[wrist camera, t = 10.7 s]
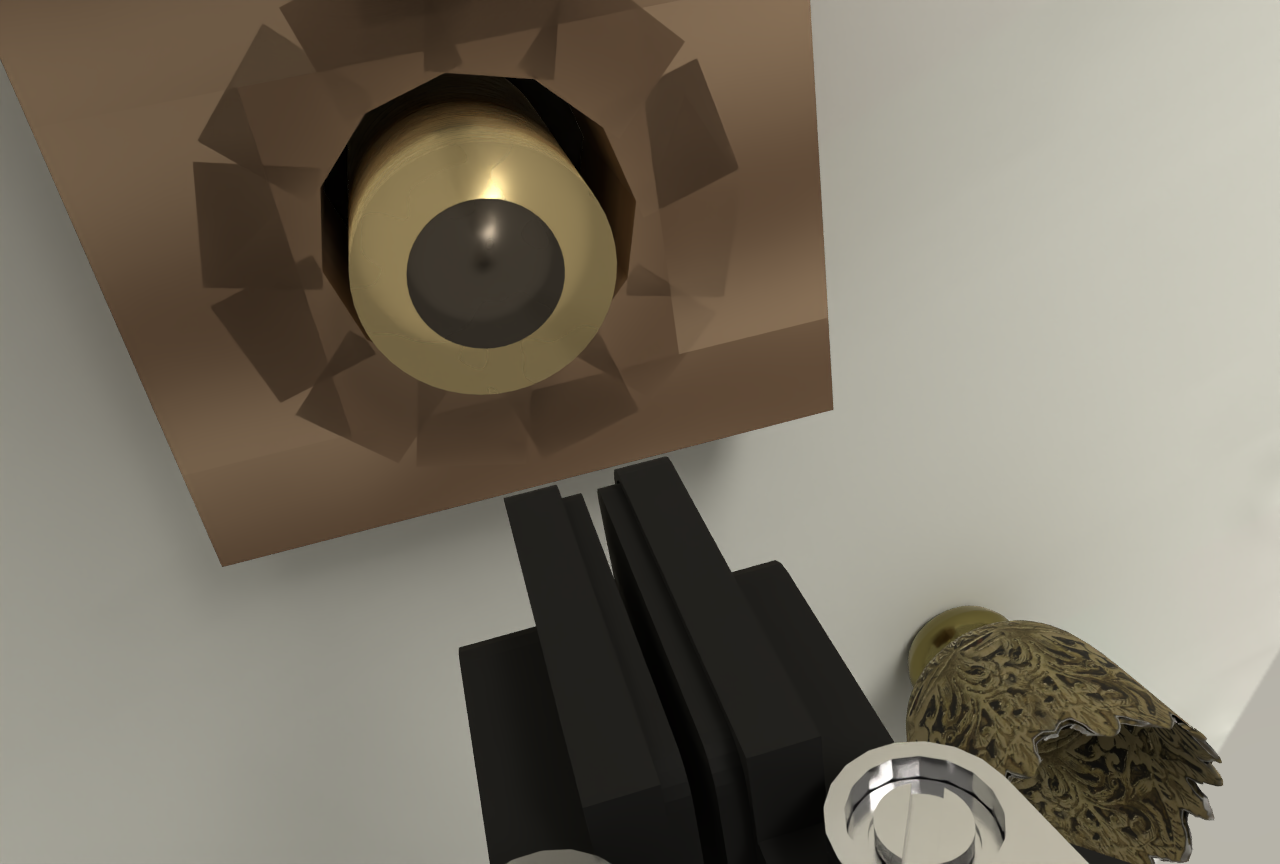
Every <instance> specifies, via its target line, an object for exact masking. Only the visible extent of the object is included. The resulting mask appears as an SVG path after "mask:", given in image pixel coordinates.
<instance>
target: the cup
mask: <svg viewBox="0 0 1280 864" xmlns="http://www.w3.org/2000/svg"><path fill="white" fill-rule="evenodd" d="M908 670H909V677H910V681H911V684H912V686H913V691H912V693H911V696H910V700H909V703H908V710H907V717H906V734H907V742H920V741H926V742H931V743H937V744H942V745H947V746H953V747H956V748H958V749H961V750H963V751H965V752H967V753H970V754H972V755H974V756H976V757H979V758H981V759H983V760H984V761H985V762H987V763H988V764H989V765H990V766H992V767H993V768H994V769H996V770H997V771H998V772H999V773H1001V774H1002V775H1003V776H1004V777H1006V778H1007V779H1008V780H1009V781H1010V783H1011V784H1012V785H1013V786H1014V787H1015V788H1016V789H1017V790H1018V791H1019V792H1020V793H1021V794H1022V795H1023V796H1024V797H1025V798H1026V799H1027V800H1028V801H1029V802H1030V803H1031V804H1032V805H1033V806H1034V807H1035V808H1036V809H1037V810H1038V812H1039V813H1040V814H1041V815H1042V816H1043V817H1044V818H1045V819H1046V820H1047V821H1048V822H1049V823H1050V824H1051V825H1052V826H1053V827H1054V828H1055V829H1056V830H1057V831H1058V832H1059V833H1060V834H1061V835H1062V836H1063V837H1064V838H1065V839H1066V841H1067V842H1068V843H1071V844H1074V845H1077V846H1080V847H1083V848H1086V849H1089V850H1092V851H1095V852H1098V853H1101V854H1105V855H1108V856H1111V857H1114V858H1117V859H1120V860H1123V861H1126V862H1129V863H1132V864H1155V862H1154V859H1153V858H1160V859H1163V860H1161V861H1170V862H1177V863H1183V862H1187V861H1189V858H1190V855H1191V853H1192V836H1191V832H1190V829H1189V826H1188V823H1187V820H1188V814H1189V813H1190V814H1192V815H1194V816H1195V817H1200V818H1202V819H1204V820H1214V815H1213V812H1212V809H1211V807H1210V805H1209V801H1208V798H1207V796H1206V795H1205V794H1204V793H1202V791H1201V790H1200V789H1199V787H1198V785H1197V784H1196V782H1197V783H1199V784H1203V782H1204V783H1207V784H1210V785H1214V786H1222V785H1223V780H1222V778H1221V776H1220V774H1219V773H1218V772H1217V770H1216V769H1215V768H1214V766H1213V765H1212V762H1213V761H1216V762H1218V763H1222V761H1221V759H1220V757H1219V756H1218V754H1217V753H1216V752H1215V751H1214V750H1213V748H1212V747H1211V746H1210V745H1209V744H1208V743H1207V742H1206V740H1207V738H1206V737H1205V736H1204V735H1203V734H1202V733H1201V732H1199V731H1198V730H1196V729H1195V728H1194V729H1193V727H1192V726H1191V727H1192V728H1191V727H1190V726H1188V725H1189V724H1188V723H1187V722H1185V721H1184V720H1183V719H1182V718H1180V717H1179V716H1178V715H1177V714H1176V713H1174V712H1173V711H1172V710H1171V709H1170V708H1168V707H1167V706H1166V705H1165V704H1164V703H1162V702H1161V701H1160V700H1159V699H1158V698H1156V697H1155V696H1154V695H1153V694H1152V693H1150V692H1149V691H1148V690H1147V689H1146V688H1144V687H1143V686H1142V685H1141V684H1140V683H1138V682H1137V681H1136V680H1135V679H1133V678H1132V677H1131V676H1130V675H1129V674H1127V673H1126V672H1125V671H1124V670H1122V669H1121V668H1120V667H1119V666H1118V665H1116V664H1115V663H1114V662H1112V661H1111V660H1110V659H1109V658H1107V657H1106V656H1105V655H1103V654H1102V653H1101V652H1099V651H1098V650H1096V649H1095V648H1093V647H1092V646H1091V645H1089V644H1088V643H1086V642H1084V641H1083V640H1081V639H1079V638H1077V637H1076V636H1074V635H1072V634H1070V633H1069V632H1066V631H1064V630H1061V629H1059V628H1056V627H1053V626H1051V625H1047V624H1043V623H1038V622H1032V621H1024V620H1015V621H1009V620H1008V619H1006V618H1005V617H1004V616H1002V615H1001V614H999V613H997V612H995V611H992V610H990V609H987V608H984V607H980V606H961V607H956V608H952V609H950V610H947V611H945V612H943V613H941V614H939V615H937V616H936V617H934V618H933V619H932V620H930V621H929V622H928V623H927V624H926V625H925V626H924V627H923V628H922V629H921V630H920V631H919V632H918V634H917V635H916V637H915V638H914V640H913V642H912V644H911V647H910V650H909V654H908ZM1186 723H1187V724H1188V725H1187V724H1186Z"/></svg>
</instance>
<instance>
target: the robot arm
mask: <svg viewBox="0 0 1280 864" xmlns="http://www.w3.org/2000/svg"><path fill="white" fill-rule="evenodd" d="M614 479H615V485H611V486H607V487H603V488H599V489H598V491H597V492H598V499H599V505H600V510H601V515H602V520H603V525H604V530H605V535H606V540H607V545H608V550H609V555H610V560H611V565H612V570H613V575H614V578H613V575H612V572H611V570H610V567H609V564H608V562H607V559H606V556H605V554H604V551H603V549H602V546H601V543H600V541H599V538H598V535H597V533H596V530H595V527H594V525H593V522H592V520H591V517H590V514H589V512H588V509H587V506H586V504H585V501H584V498H583V496H582V494H581V493H580V494H576V495H573V496H569V497H565V498H561V495H560V492H559V489H558V487H557V485H554V486H550V487H546V488H542V489H538V490H534V491H530V492H527V493H523V494H519V495H515V496H511V497H507V498H504V502H505V506H506V510H507V514H508V517H509V521H510V525H511V529H512V533H513V537H514V541H515V545H516V549H517V553H518V557H519V561H520V565H521V569H522V573H523V577H524V581H525V584H526V588H527V592H528V596H529V600H530V604H531V608H532V612H533V616H534V620H535V624H536V627H532V628H528V629H525V630H521V631H518V632H514V633H510V634H507V635H503V636H500V637H496V638H492V639H489V640H485V641H481V642H478V643H474V644H471V645H467V646H463V647H460V648H459V659H460V667H461V673H462V680H463V687H464V694H465V700H466V707H467V714H468V720H469V727H470V734H471V740H472V747H473V754H474V760H475V767H476V774H477V780H478V787H479V794H480V800H481V807H482V814H483V820H484V827H485V834H486V841H487V847H488V854H489V861H490V864H1132V863H1129V862H1126V861H1123V860H1120V859H1117V858H1114V857H1111V856H1108V855H1105V854H1101V853H1098V852H1095V851H1092V850H1089V849H1086V848H1083V847H1080V846H1077V845H1074V844H1071V843H1068V842H1067V841H1066V839H1065V838H1064V837H1063V836H1062V835H1061V834H1060V833H1059V832H1058V831H1057V830H1056V829H1055V828H1054V827H1053V826H1052V825H1051V824H1050V823H1049V822H1048V821H1047V820H1046V819H1045V818H1044V817H1043V816H1042V815H1041V814H1040V813H1039V812H1038V810H1037V809H1036V808H1035V807H1034V806H1033V805H1032V804H1031V803H1030V802H1029V801H1028V800H1027V799H1026V798H1025V797H1024V796H1023V795H1022V794H1021V793H1020V792H1019V791H1018V790H1017V789H1016V788H1015V787H1014V786H1013V785H1012V784H1011V783H1010V781H1009V780H1008V779H1007V778H1006V777H1004V776H1003V775H1002V774H1001V773H999V772H998V771H997V770H996V769H994V768H993V767H992V766H990V765H989V764H988V763H987V762H985V761H984V760H983V759H981V758H979V757H976V756H974V755H972V754H970V753H967V752H965V751H963V750H961V749H958V748H956V747H953V746H947V745H942V744H937V743H931V742H926V741H920V742H898V743H894V741H893V740H892V738H891V736H890V735H889V733H888V732H887V730H886V728H885V727H884V725H883V724H882V722H881V720H880V719H879V717H878V716H877V714H876V712H875V711H874V709H873V708H872V706H871V704H870V703H869V701H868V700H867V698H866V696H865V695H864V693H863V692H862V690H861V688H860V687H859V685H858V684H857V682H856V680H855V679H854V677H853V676H852V674H851V672H850V671H849V669H848V668H847V666H846V664H845V663H844V661H843V660H842V658H841V656H840V655H839V653H838V652H837V650H836V648H835V647H834V645H833V644H832V642H831V640H830V639H829V637H828V636H827V634H826V632H825V631H824V629H823V628H822V626H821V624H820V623H819V621H818V620H817V618H816V616H815V615H814V613H813V612H812V610H811V608H810V607H809V605H808V604H807V602H806V600H805V599H804V597H803V596H802V594H801V592H800V591H799V589H798V588H797V586H796V584H795V583H794V581H793V580H792V578H791V576H790V575H789V573H788V572H787V570H786V569H785V568H784V567H783V565H782V564H781V563H780V562H778V561H776V560H774V561H771V562H767V563H764V564H760V565H756V566H753V567H749V568H746V569H742V570H738V571H735V572H731V570H730V569H729V567H728V565H727V563H726V561H725V559H724V558H723V556H722V554H721V552H720V550H719V548H718V547H717V545H716V543H715V541H714V539H713V538H712V536H711V534H710V532H709V530H708V528H707V527H706V525H705V523H704V521H703V519H702V517H701V516H700V514H699V512H698V510H697V508H696V506H695V505H694V503H693V501H692V499H691V497H690V495H689V494H688V492H687V490H686V488H685V486H684V484H683V483H682V481H681V479H680V477H679V475H678V473H677V472H676V470H675V468H674V466H673V464H672V462H671V461H670V459H669V458H668V457H662V458H658V459H654V460H650V461H646V462H643V463H639V464H635V465H631V466H627V467H623V468H619V469H615V470H614Z"/></svg>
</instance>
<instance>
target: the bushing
mask: <svg viewBox="0 0 1280 864" xmlns="http://www.w3.org/2000/svg"><path fill="white" fill-rule="evenodd" d="M347 172H348V249H349V280H350V290H351V294H352V299H353V303H354V307H355V309H356V312H357V314H358V317H359V319H360V322H361V324H362V325H363V327H364V329H365V331H366V333H367V334H368V336H369V337H370V339H371V340H372V341H373V343H374V344H375V345H376V347H377V348H378V349H379V350H380V351H381V352H382V353H383V354H384V355H385V356H386V357H387V358H388V359H389V360H390V361H391V362H392V363H393V364H394V365H396V366H397V367H398V368H400V369H401V370H402V371H404V372H405V373H407V374H409V375H410V376H412V377H414V378H415V379H417V380H419V381H421V382H424V383H426V384H428V385H431V386H433V387H436V388H440V389H443V390H447V391H451V392H457V393H463V394H477V395H485V394H499V393H504V392H510V391H515V390H518V389H521V388H525V387H528V386H531V385H533V384H535V383H538V382H540V381H542V380H544V379H546V378H548V377H550V376H551V375H553V374H555V373H556V372H558V371H560V370H561V369H562V368H564V367H565V366H566V365H568V364H569V363H570V362H572V361H573V360H574V359H575V358H576V357H577V356H578V355H579V354H580V353H581V352H582V351H583V350H584V349H585V348H586V346H587V345H588V344H589V343H590V341H591V340H592V339H593V338H594V336H595V335H596V333H597V331H598V330H599V328H600V326H601V325H602V323H603V321H604V319H605V317H606V314H607V312H608V310H609V307H610V304H611V301H612V297H613V294H614V289H615V283H616V273H617V258H616V248H615V243H614V238H613V234H612V230H611V227H610V225H609V222H608V220H607V217H606V215H605V213H604V211H603V209H602V208H601V206H600V204H599V202H598V200H597V199H596V197H595V196H594V194H593V193H592V192H591V190H590V189H589V187H588V186H587V184H586V183H585V181H584V180H583V178H582V177H581V176H580V174H579V173H578V171H577V170H576V168H575V167H574V165H573V164H572V162H571V161H570V160H569V158H568V157H567V155H566V154H565V152H564V151H563V149H562V148H561V146H560V145H559V144H558V142H557V141H556V139H555V138H554V136H553V135H552V133H551V132H550V130H549V129H548V128H547V126H546V125H545V123H544V122H543V120H542V119H541V117H540V116H539V114H538V113H537V112H536V110H535V109H534V107H533V106H532V104H531V103H530V102H529V100H528V99H527V98H526V97H525V95H524V94H523V93H522V92H521V91H520V90H519V89H518V88H517V87H516V86H515V85H513V84H512V83H511V82H510V81H508V80H507V79H506V78H504V77H499V76H485V75H471V74H457V73H443V74H441V75H439V76H437V77H435V78H433V79H432V80H430V81H428V82H426V83H424V84H422V85H420V86H418V87H416V88H414V89H412V90H410V91H408V92H406V93H404V94H402V95H400V96H398V97H396V98H394V99H392V100H390V101H388V102H386V103H384V104H383V105H381V106H379V107H377V108H375V109H373V110H371V111H369V112H367V113H365V114H364V116H363V118H362V119H361V121H360V123H359V124H358V126H357V128H356V129H355V131H354V133H353V134H352V136H351V137H350V139H349V143H348V155H347Z"/></svg>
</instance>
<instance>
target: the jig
mask: <svg viewBox="0 0 1280 864" xmlns="http://www.w3.org/2000/svg"><path fill="white" fill-rule="evenodd" d="M0 59H1V61H2V64H3V66H4V68H5V70H6V73H7V75H8V77H9V80H10V82H11V84H12V86H13V89H14V91H15V93H16V96H17V98H18V100H19V102H20V105H21V107H22V109H23V112H24V114H25V116H26V119H27V121H28V123H29V125H30V128H31V130H32V132H33V135H34V137H35V139H36V141H37V144H38V146H39V148H40V151H41V153H42V155H43V157H44V160H45V162H46V164H47V167H48V169H49V171H50V174H51V176H52V178H53V180H54V183H55V185H56V187H57V190H58V192H59V194H60V196H61V199H62V201H63V203H64V206H65V208H66V210H67V212H68V215H69V217H70V219H71V222H72V224H73V226H74V229H75V231H76V233H77V235H78V238H79V240H80V242H81V245H82V247H83V249H84V251H85V254H86V256H87V258H88V261H89V263H90V265H91V267H92V270H93V272H94V274H95V277H96V279H97V281H98V283H99V286H100V288H101V290H102V293H103V295H104V297H105V300H106V302H107V304H108V306H109V309H110V311H111V313H112V316H113V318H114V320H115V322H116V325H117V327H118V329H119V332H120V334H121V336H122V338H123V341H124V343H125V345H126V348H127V350H128V352H129V355H130V357H131V359H132V361H133V364H134V366H135V368H136V371H137V373H138V375H139V377H140V380H141V382H142V384H143V387H144V389H145V391H146V393H147V396H148V398H149V400H150V403H151V405H152V407H153V410H154V412H155V414H156V416H157V419H158V421H159V423H160V426H161V428H162V430H163V432H164V435H165V437H166V439H167V442H168V444H169V446H170V448H171V451H172V453H173V455H174V458H175V460H176V462H177V464H178V467H179V469H180V471H181V474H182V476H183V478H184V481H185V483H186V485H187V487H188V490H189V492H190V494H191V497H192V499H193V501H194V503H195V506H196V508H197V510H198V513H199V515H200V517H201V519H202V522H203V524H204V526H205V529H206V531H207V533H208V536H209V538H210V540H211V542H212V545H213V547H214V549H215V552H216V554H217V556H218V558H219V561H220V563H221V565H222V567H224V566H228V565H232V564H236V563H240V562H244V561H248V560H252V559H255V558H259V557H263V556H267V555H271V554H275V553H279V552H283V551H286V550H290V549H294V548H298V547H302V546H306V545H310V544H314V543H317V542H321V541H325V540H329V539H333V538H337V537H341V536H345V535H349V534H352V533H356V532H360V531H364V530H368V529H372V528H376V527H380V526H383V525H387V524H391V523H395V522H399V521H403V520H407V519H411V518H415V517H418V516H422V515H426V514H430V513H434V512H438V511H442V510H446V509H449V508H453V507H457V506H461V505H465V504H469V503H473V502H477V501H481V500H484V499H488V498H492V497H496V496H500V495H504V494H508V493H512V492H515V491H519V490H523V489H527V488H531V487H535V486H539V485H543V484H547V483H550V482H554V481H558V480H562V479H566V478H570V477H574V476H578V475H581V474H585V473H589V472H593V471H597V470H601V469H605V468H609V467H612V466H616V465H620V464H624V463H628V462H632V461H636V460H640V459H644V458H647V457H651V456H655V455H659V454H663V453H667V452H671V451H675V450H678V449H682V448H686V447H690V446H694V445H698V444H702V443H706V442H710V441H713V440H717V439H721V438H725V437H729V436H733V435H737V434H741V433H744V432H748V431H752V430H756V429H760V428H764V427H768V426H772V425H776V424H779V423H783V422H787V421H791V420H795V419H799V418H803V417H807V416H810V415H814V414H818V413H822V412H826V411H830V410H833V394H832V376H831V359H830V342H829V324H828V307H827V289H826V272H825V254H824V237H823V219H822V202H821V184H820V167H819V150H818V132H817V115H816V97H815V80H814V62H813V45H812V27H811V10H810V0H0ZM443 73H457V74H471V75H485V76H499V77H513V78H527V79H535V80H536V81H537V82H539V83H540V84H542V85H543V86H545V87H546V88H547V89H549V90H550V91H552V92H553V93H555V94H556V95H557V96H559V97H560V98H562V99H563V100H565V101H566V102H567V103H568V104H569V107H570V109H571V111H572V113H573V115H574V117H575V120H576V122H577V124H578V126H579V128H580V131H581V133H582V135H583V144H582V155H581V167H580V176H581V177H582V178H583V180H584V181H585V183H586V184H587V186H588V187H589V189H590V190H591V192H592V193H593V194H594V196H595V197H596V199H597V200H598V202H599V204H600V206H601V208H602V209H603V211H604V213H605V215H606V217H607V220H608V222H609V225H610V227H611V230H612V234H613V238H614V243H615V248H616V258H617V273H616V283H615V289H614V294H613V297H612V301H611V304H610V307H609V310H608V312H607V314H606V317H605V319H604V321H603V323H602V325H601V326H600V328H599V330H598V331H597V333H596V335H595V336H594V338H593V339H592V340H591V341H590V343H589V344H588V345H587V346H586V348H585V349H584V350H583V351H582V352H581V353H580V354H579V355H578V356H577V357H576V358H575V359H574V360H573V361H572V362H570V363H569V364H568V365H566V366H565V367H564V368H562V369H561V370H560V371H558V372H556V373H555V374H553V375H551V376H550V377H548V378H546V379H544V380H542V381H540V382H538V383H535V384H533V385H531V386H528V387H525V388H521V389H518V390H515V391H510V392H504V393H499V394H485V395H477V394H463V393H457V392H451V391H447V390H443V389H440V388H436V387H433V386H431V385H428V384H426V383H424V382H421V381H419V380H417V379H415V378H414V377H412V376H410V375H409V374H407V373H405V372H404V371H402V370H401V369H400V368H398V367H397V366H396V365H394V364H393V363H392V362H391V361H390V360H389V359H388V358H387V357H386V356H385V355H384V354H383V353H382V352H381V351H380V350H379V349H378V348H377V347H376V345H375V344H374V343H373V341H372V340H371V339H370V337H369V336H368V334H367V333H366V331H365V329H364V327H363V325H362V324H361V322H360V319H359V317H358V314H357V312H356V309H355V307H354V303H353V299H352V294H351V290H350V280H349V249H348V229H347V227H346V225H345V224H344V222H343V221H342V219H341V217H340V216H339V214H338V213H337V211H336V209H335V208H334V206H333V204H332V203H331V201H330V200H329V198H328V196H327V195H326V193H325V192H324V181H325V179H326V177H327V176H328V174H329V172H330V171H331V169H332V167H333V166H334V164H335V162H336V161H337V159H338V157H339V156H340V154H341V152H342V151H343V149H344V147H345V146H346V144H347V142H348V141H349V139H350V137H351V136H352V134H353V133H354V131H355V129H356V128H357V126H358V124H359V123H360V121H361V119H362V118H363V116H364V114H365V113H367V112H369V111H371V110H373V109H375V108H377V107H379V106H381V105H383V104H384V103H386V102H388V101H390V100H392V99H394V98H396V97H398V96H400V95H402V94H404V93H406V92H408V91H410V90H412V89H414V88H416V87H418V86H420V85H422V84H424V83H426V82H428V81H430V80H432V79H433V78H435V77H437V76H439V75H441V74H443Z"/></svg>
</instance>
